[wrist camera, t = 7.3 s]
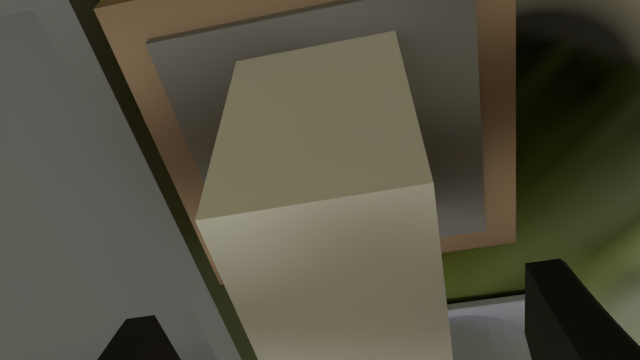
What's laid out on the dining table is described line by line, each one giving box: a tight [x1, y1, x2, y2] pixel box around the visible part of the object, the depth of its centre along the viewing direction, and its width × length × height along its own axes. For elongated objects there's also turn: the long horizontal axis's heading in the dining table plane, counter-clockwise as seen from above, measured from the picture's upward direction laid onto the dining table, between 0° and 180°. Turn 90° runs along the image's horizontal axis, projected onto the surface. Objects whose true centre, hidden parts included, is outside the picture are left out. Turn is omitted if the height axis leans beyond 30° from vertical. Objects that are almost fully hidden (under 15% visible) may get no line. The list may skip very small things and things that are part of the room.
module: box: [195, 31, 453, 360], centre depth 14 cm, size 6×4×6 cm
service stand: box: [94, 0, 516, 285], centre depth 17 cm, size 10×10×3 cm
